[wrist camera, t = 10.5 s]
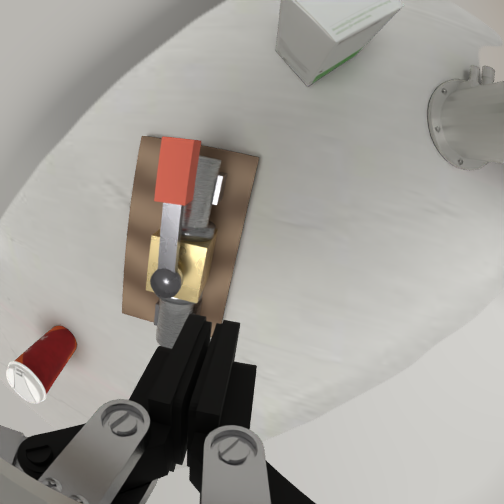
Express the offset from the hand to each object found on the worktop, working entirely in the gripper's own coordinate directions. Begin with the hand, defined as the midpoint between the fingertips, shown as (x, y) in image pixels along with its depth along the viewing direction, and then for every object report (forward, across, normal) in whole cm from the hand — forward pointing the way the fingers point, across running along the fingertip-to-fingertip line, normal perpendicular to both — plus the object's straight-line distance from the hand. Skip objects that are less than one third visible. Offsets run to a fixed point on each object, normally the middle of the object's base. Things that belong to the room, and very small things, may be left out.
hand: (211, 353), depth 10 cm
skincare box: (+30, -4, -20) cm, 36 cm away
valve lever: (+18, +7, +1) cm, 19 cm away
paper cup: (+27, +30, +28) cm, 49 cm away
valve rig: (+28, +9, +6) cm, 30 cm away
